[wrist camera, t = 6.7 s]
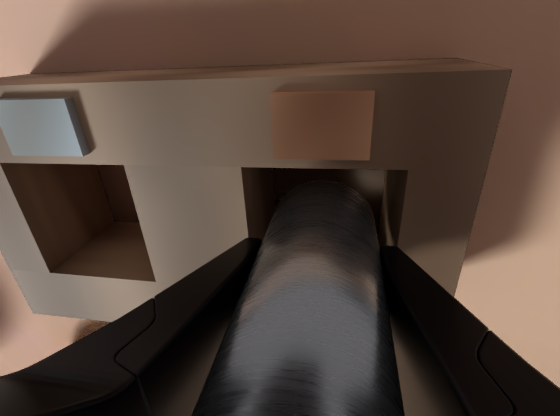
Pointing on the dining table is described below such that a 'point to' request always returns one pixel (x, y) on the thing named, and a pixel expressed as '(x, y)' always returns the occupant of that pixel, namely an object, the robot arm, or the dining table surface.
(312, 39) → the dining table surface
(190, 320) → the robot arm
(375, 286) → the plug
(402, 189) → the board
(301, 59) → the dining table surface
